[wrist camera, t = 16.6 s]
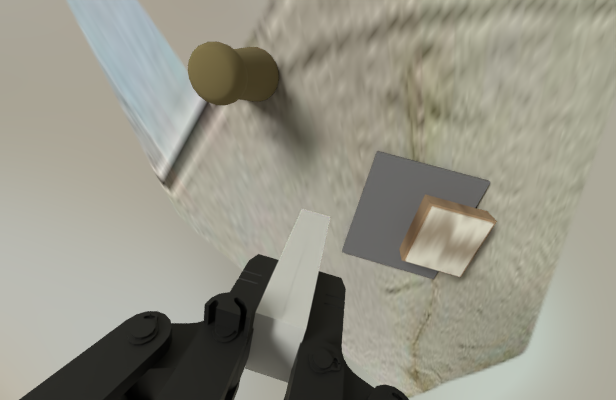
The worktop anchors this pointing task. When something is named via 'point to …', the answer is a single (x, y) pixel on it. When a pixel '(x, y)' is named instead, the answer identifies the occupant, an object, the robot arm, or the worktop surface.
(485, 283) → the worktop surface
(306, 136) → the worktop surface
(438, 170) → the mat
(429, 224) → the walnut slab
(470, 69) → the worktop surface
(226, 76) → the cork
